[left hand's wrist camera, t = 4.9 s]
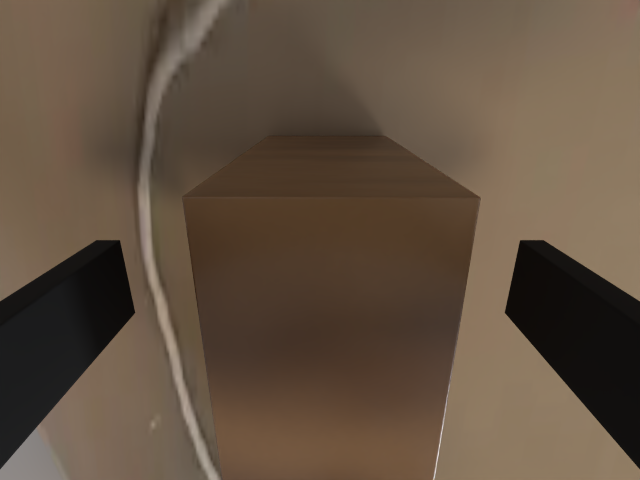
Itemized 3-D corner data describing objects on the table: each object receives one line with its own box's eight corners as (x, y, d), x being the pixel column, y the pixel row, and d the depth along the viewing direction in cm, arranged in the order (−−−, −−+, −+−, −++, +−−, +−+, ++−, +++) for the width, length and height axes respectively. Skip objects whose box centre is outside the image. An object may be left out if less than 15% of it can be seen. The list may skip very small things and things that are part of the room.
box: (267, 135, 20) (181, 196, 8) (386, 136, 20) (481, 196, 8) (282, 422, 27) (249, 676, 15) (368, 423, 27) (402, 678, 15)
